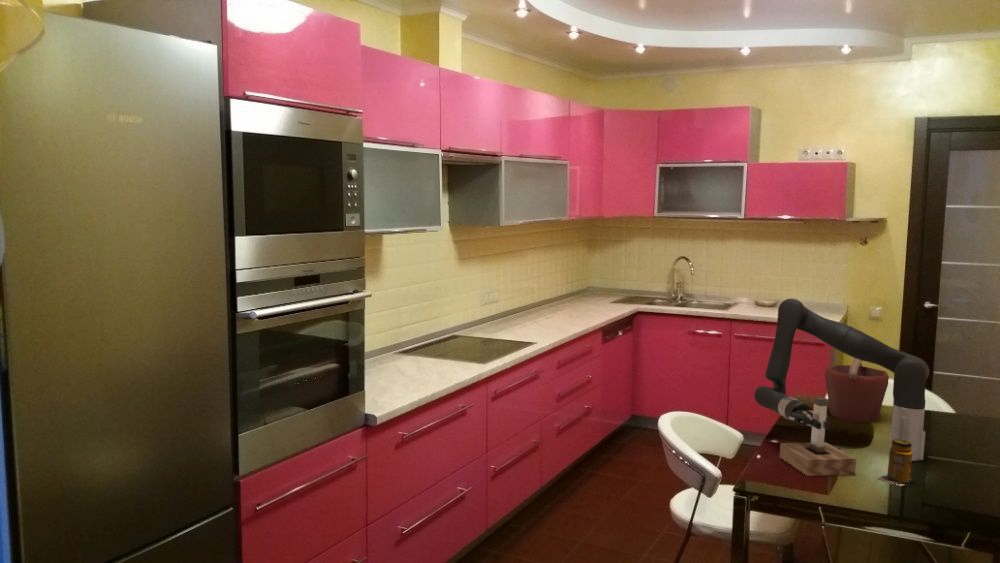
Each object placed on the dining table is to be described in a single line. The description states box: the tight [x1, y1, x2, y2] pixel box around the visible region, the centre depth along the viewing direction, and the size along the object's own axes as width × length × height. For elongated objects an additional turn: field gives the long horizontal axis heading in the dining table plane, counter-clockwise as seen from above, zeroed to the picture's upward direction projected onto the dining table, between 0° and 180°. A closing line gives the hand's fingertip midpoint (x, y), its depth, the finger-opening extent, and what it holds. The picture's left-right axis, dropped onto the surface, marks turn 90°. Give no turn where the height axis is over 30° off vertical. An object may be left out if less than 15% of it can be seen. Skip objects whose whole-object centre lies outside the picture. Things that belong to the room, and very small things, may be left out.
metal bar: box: [808, 397, 828, 455], centre depth 234 cm, size 3×4×18 cm, turn 8°
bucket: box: [824, 357, 890, 424], centre depth 293 cm, size 24×22×25 cm
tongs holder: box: [779, 441, 857, 477], centre depth 235 cm, size 16×16×5 cm
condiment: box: [877, 439, 913, 487], centre depth 224 cm, size 7×8×12 cm
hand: (824, 426), depth 231 cm, fingers closed on metal bar, 2 cm apart
